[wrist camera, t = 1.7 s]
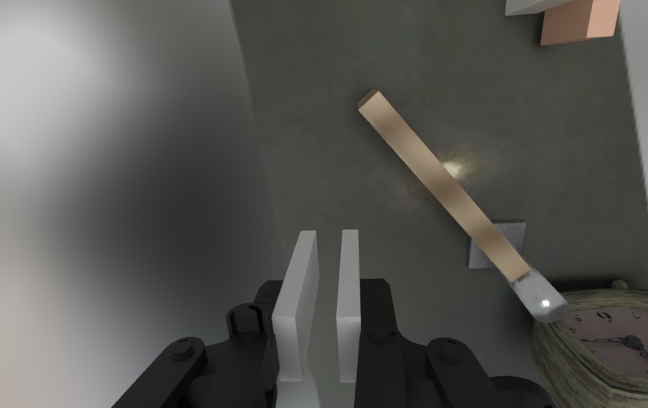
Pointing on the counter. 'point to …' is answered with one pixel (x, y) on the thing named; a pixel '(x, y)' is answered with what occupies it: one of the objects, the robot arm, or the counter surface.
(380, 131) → the gate
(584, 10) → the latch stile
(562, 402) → the tabletop clock
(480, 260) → the hinge post
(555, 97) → the counter surface
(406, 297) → the counter surface
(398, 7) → the counter surface
